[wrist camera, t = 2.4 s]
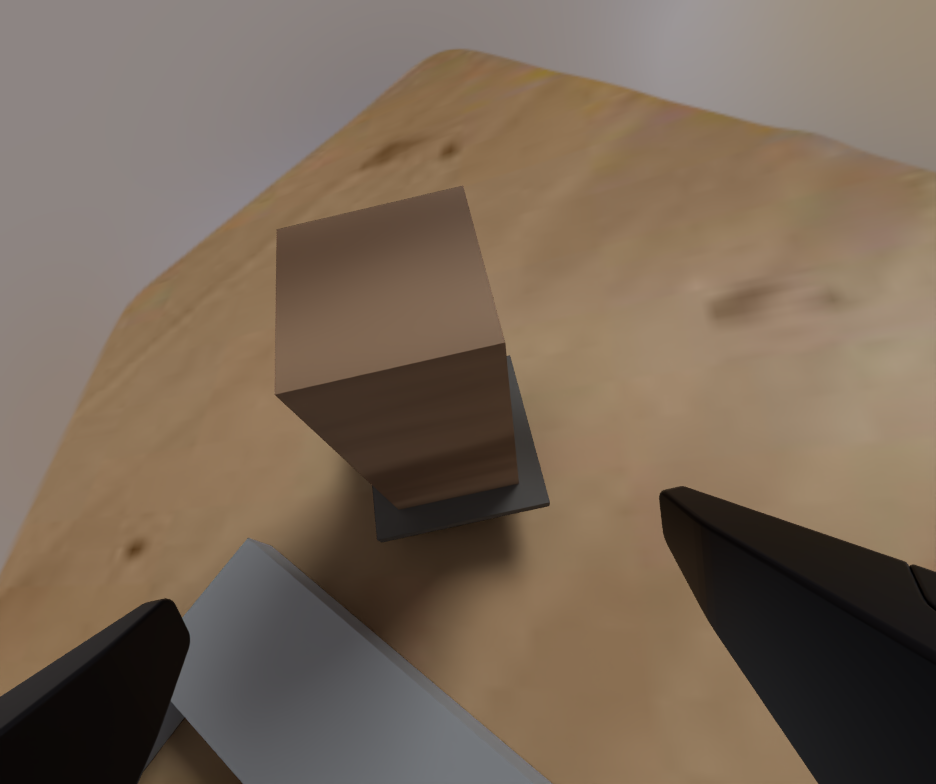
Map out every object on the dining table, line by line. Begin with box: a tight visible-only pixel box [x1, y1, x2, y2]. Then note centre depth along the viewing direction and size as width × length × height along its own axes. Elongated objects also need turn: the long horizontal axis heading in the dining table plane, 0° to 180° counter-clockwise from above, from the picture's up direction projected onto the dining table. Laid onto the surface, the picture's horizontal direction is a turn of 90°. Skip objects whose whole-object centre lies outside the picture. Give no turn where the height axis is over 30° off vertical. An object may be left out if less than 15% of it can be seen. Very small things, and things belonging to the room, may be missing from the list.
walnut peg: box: [275, 186, 550, 542], centre depth 17 cm, size 7×7×13 cm
